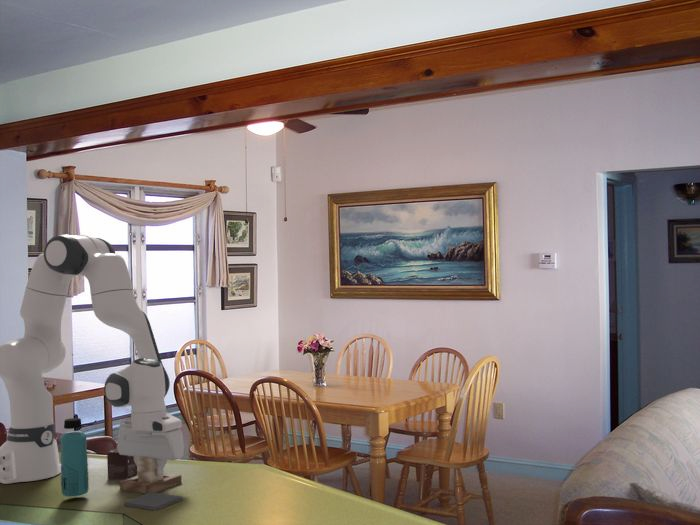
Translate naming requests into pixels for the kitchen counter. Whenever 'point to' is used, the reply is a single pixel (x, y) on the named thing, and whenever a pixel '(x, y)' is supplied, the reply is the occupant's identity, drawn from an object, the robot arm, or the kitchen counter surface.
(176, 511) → the kitchen counter surface
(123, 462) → the box
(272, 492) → the kitchen counter surface
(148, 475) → the peg block
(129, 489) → the pocket holder
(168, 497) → the mat
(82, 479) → the beverage bottle
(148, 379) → the robot arm
